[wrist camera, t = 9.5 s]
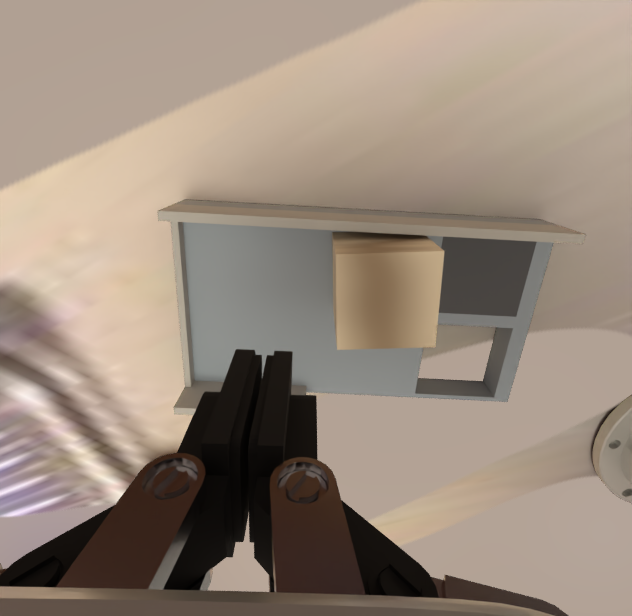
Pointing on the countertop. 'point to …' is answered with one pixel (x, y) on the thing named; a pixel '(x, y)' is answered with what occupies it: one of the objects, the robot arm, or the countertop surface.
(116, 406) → the countertop surface
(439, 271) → the block
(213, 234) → the pale blue tray
